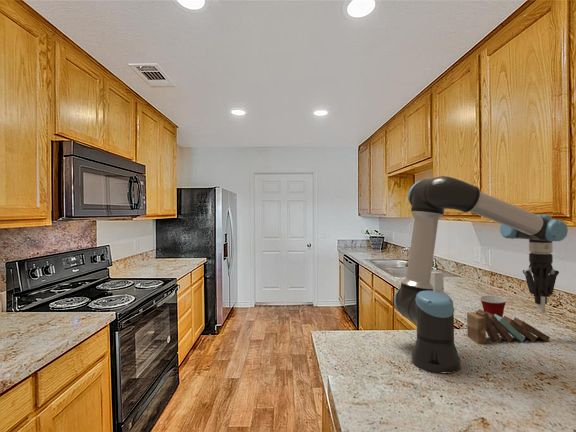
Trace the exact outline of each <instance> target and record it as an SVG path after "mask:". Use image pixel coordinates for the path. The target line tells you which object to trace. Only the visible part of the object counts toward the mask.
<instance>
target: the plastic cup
mask: <svg viewBox="0 0 576 432" xmlns="http://www.w3.org/2000/svg"><path fill="white" fill-rule="evenodd" d="M479 301H480V302H481V305H482V311H484V312H489V313H491V314H493V315H494V314H496V315H498V316H500V317H502V318H503V317H504V311H505V306H506V303H507V302H508V299H507V298H506V297H503V296H500V295H494V294H493V295H492V294H486V295H481V296H479Z"/></svg>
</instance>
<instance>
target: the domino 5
mask: <svg viewBox="0 0 576 432" xmlns="http://www.w3.org/2000/svg"><path fill="white" fill-rule="evenodd" d="M513 320H514V321H515V322H516V323H518V324H519V325H520V326H522V327H523V328H525V329H526V330H527V331H529V332H530V333H532V334H533V335H534V336H536V337H537V338H539V339H541V340H543V341H545V342H548V341H549V339H550V338H551V337H550V336H549V335H547V334H545V333H544V332H542V331H540V330H538V328H536V327H534V326H532V325H530V324H529V323H527V322H525V321H523V320H522V319H520V318H517V317H514V319H513Z"/></svg>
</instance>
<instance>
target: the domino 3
mask: <svg viewBox="0 0 576 432" xmlns="http://www.w3.org/2000/svg"><path fill="white" fill-rule="evenodd" d="M494 316H495V317H496V318H497V320H498V321H499V322H500V323H501V324H502V326H503V327H504V328H505V329H506V330H507V332H508V333H509V334H510V335H511V337H512V338H513V339H516V340H518V341H520V342H521V343H523V342H524V340H525V339H526V337H525V336H523V335H522V334H520V333H519V332H518V331H517V330H516V329H515V328H513V327H512V326H511V325H510V324H509V323H508V322H507V321H506V320H505V319H503V318H502V317H500V316H498V315H496V314H494Z"/></svg>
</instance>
